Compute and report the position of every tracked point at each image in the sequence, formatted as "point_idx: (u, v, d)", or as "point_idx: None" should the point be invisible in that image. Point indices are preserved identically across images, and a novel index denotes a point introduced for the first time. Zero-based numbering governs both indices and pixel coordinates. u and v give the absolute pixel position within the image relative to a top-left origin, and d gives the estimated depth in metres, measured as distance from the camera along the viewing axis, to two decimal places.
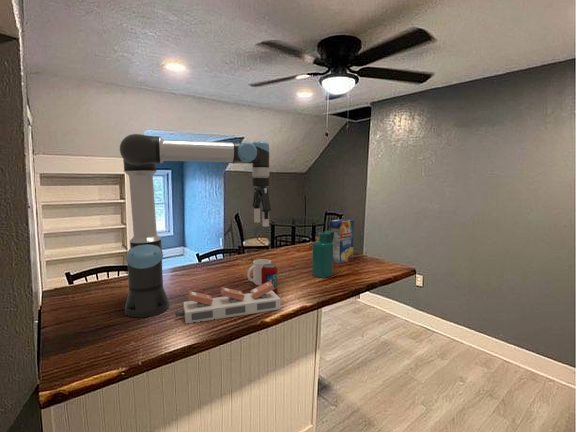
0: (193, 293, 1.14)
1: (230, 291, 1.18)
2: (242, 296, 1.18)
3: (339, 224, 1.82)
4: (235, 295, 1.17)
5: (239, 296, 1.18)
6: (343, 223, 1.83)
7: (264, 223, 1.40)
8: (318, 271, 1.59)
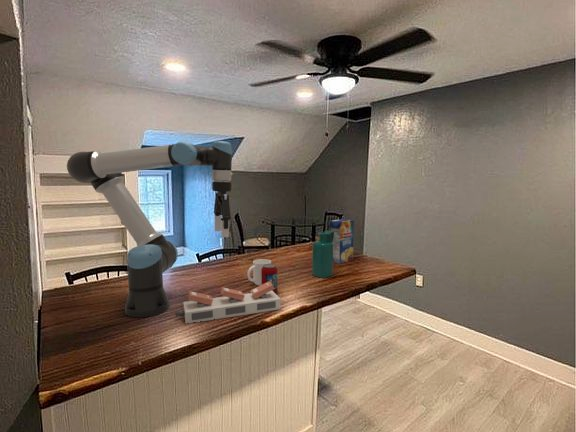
0: (193, 293, 1.14)
1: (230, 291, 1.18)
2: (242, 296, 1.18)
3: (339, 224, 1.82)
4: (235, 295, 1.17)
5: (239, 296, 1.18)
6: (343, 223, 1.83)
7: (223, 233, 1.25)
8: (318, 271, 1.59)
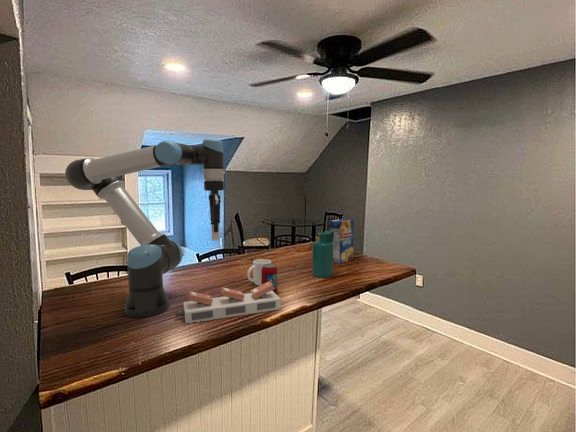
0: (193, 293, 1.14)
1: (230, 291, 1.18)
2: (242, 296, 1.18)
3: (339, 224, 1.82)
4: (235, 295, 1.17)
5: (239, 296, 1.18)
6: (343, 223, 1.83)
7: (214, 237, 1.27)
8: (318, 271, 1.59)
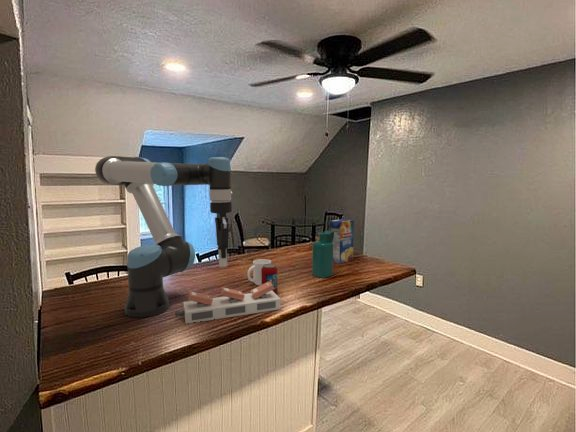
0: (193, 293, 1.14)
1: (230, 291, 1.18)
2: (242, 296, 1.18)
3: (339, 224, 1.82)
4: (235, 295, 1.17)
5: (239, 296, 1.18)
6: (343, 223, 1.83)
7: (221, 263, 1.17)
8: (318, 271, 1.59)
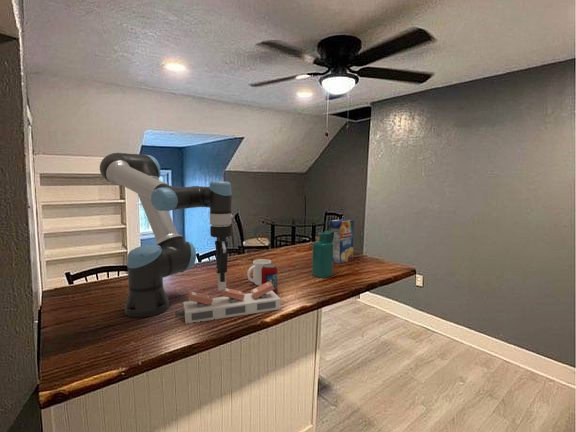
0: (193, 293, 1.14)
1: (230, 291, 1.18)
2: (242, 296, 1.18)
3: (339, 224, 1.82)
4: (235, 295, 1.17)
5: (239, 296, 1.18)
6: (343, 223, 1.83)
7: (220, 286, 1.16)
8: (318, 271, 1.59)
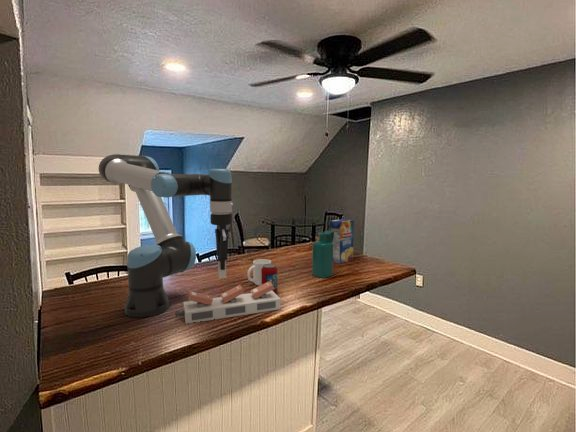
0: (193, 293, 1.14)
1: (228, 294, 1.18)
2: (241, 290, 1.18)
3: (339, 224, 1.82)
4: (234, 294, 1.17)
5: (238, 292, 1.18)
6: (343, 223, 1.83)
7: (220, 274, 1.16)
8: (318, 271, 1.59)
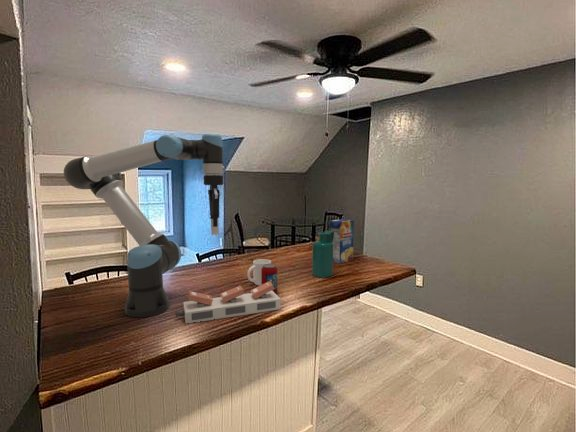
0: (193, 293, 1.14)
1: (228, 293, 1.18)
2: (241, 291, 1.18)
3: (339, 224, 1.82)
4: (235, 294, 1.17)
5: (239, 292, 1.18)
6: (343, 223, 1.83)
7: (213, 231, 1.28)
8: (318, 271, 1.59)
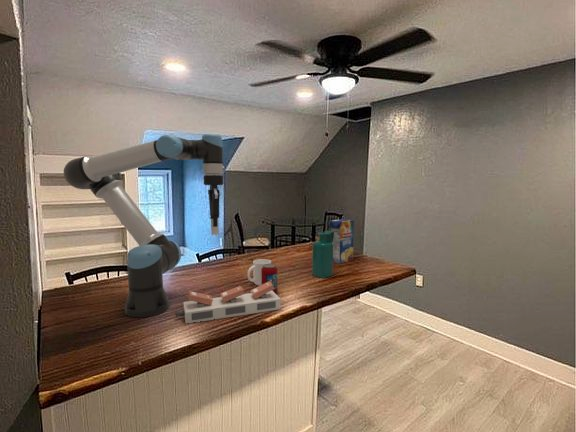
0: (193, 293, 1.14)
1: (228, 293, 1.18)
2: (241, 291, 1.18)
3: (339, 224, 1.82)
4: (235, 294, 1.17)
5: (239, 293, 1.18)
6: (343, 223, 1.83)
7: (213, 231, 1.28)
8: (318, 271, 1.59)
